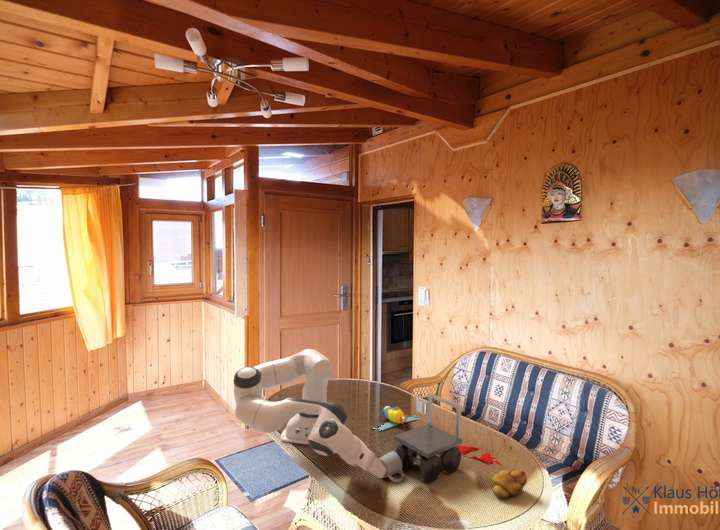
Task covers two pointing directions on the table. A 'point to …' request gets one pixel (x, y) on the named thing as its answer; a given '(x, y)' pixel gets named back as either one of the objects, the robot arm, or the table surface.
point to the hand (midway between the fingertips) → (374, 469)
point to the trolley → (431, 446)
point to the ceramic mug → (392, 465)
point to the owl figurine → (395, 417)
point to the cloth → (485, 457)
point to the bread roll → (509, 483)
